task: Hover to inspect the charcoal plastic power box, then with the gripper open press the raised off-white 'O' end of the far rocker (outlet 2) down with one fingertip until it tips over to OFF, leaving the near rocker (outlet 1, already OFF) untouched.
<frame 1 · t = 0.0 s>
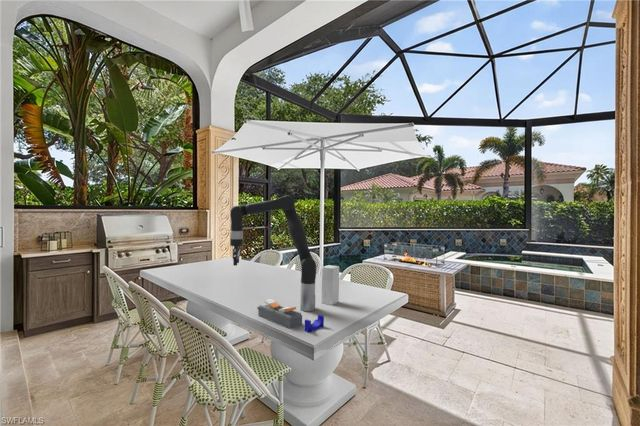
hand: (236, 264, 188), 29 cm above the table, fingers open, 8 cm apart
rocker 2: (272, 303, 180), point 8 cm above the table, hinge at 15.0°
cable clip: (313, 328, 164), on the table
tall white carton: (330, 302, 210), on the table
rocker 1: (287, 309, 171), point 8 cm above the table, hinge at -15.0°
power box: (279, 319, 176), on the table
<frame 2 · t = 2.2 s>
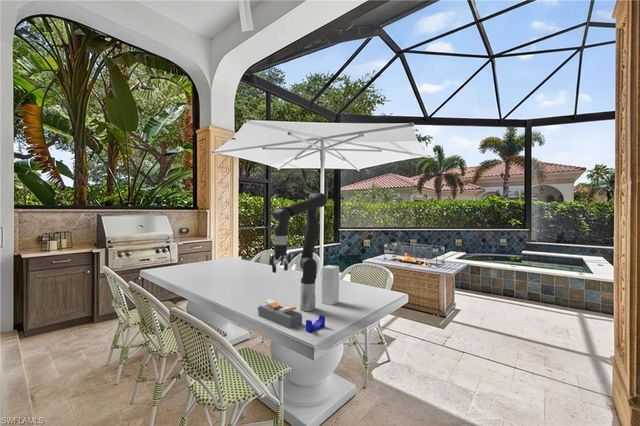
hand: (280, 271, 175), 28 cm above the table, fingers open, 8 cm apart
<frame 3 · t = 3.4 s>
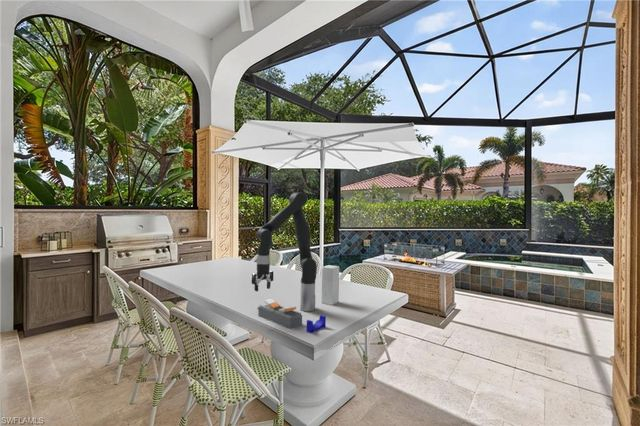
hand: (262, 289, 180), 16 cm above the table, fingers open, 8 cm apart
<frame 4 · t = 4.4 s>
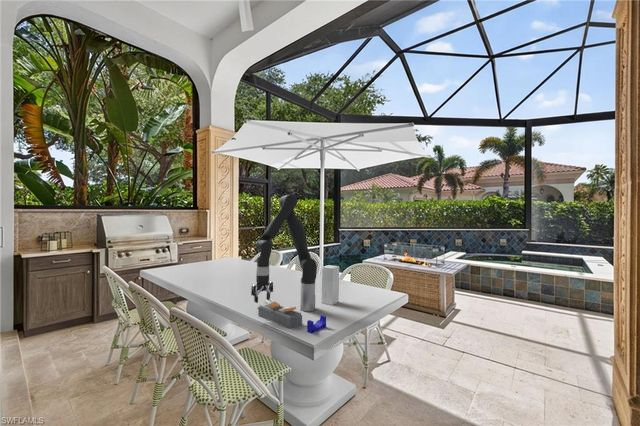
hand: (262, 301, 180), 9 cm above the table, fingers open, 8 cm apart
rocker 2: (272, 303, 180), point 8 cm above the table, hinge at 11.6°, touching gripper
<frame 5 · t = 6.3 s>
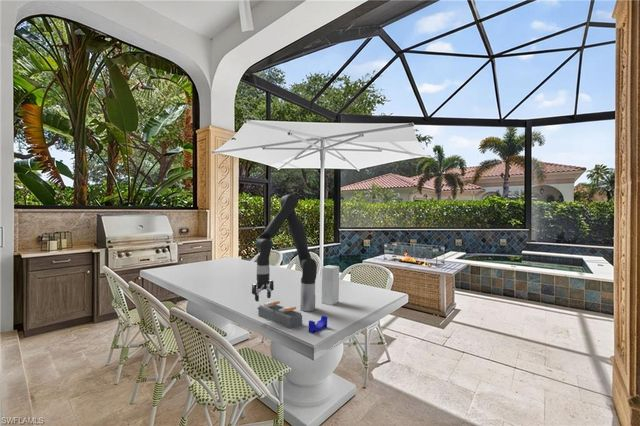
hand: (262, 299, 180), 10 cm above the table, fingers open, 8 cm apart
rocker 2: (271, 303, 180), point 8 cm above the table, hinge at -15.1°
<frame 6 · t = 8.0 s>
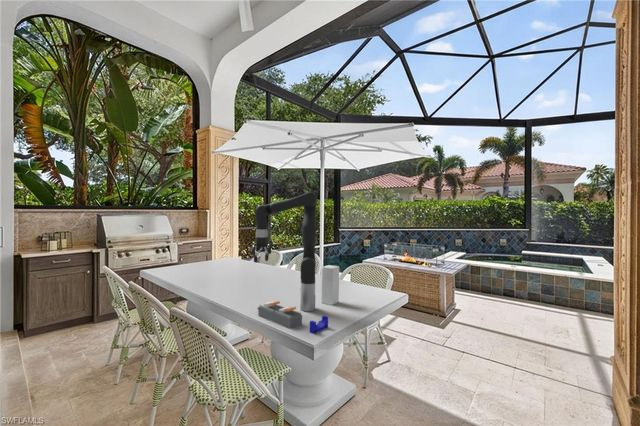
hand: (261, 261, 195), 30 cm above the table, fingers open, 8 cm apart
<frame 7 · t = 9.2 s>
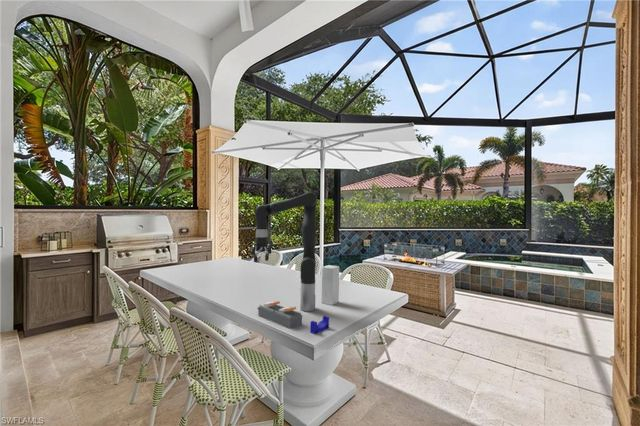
hand: (261, 261, 195), 30 cm above the table, fingers open, 8 cm apart
at the end: rocker 2 at -15° (first picture: +15°); rocker 1 at -15° (first picture: -15°) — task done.
